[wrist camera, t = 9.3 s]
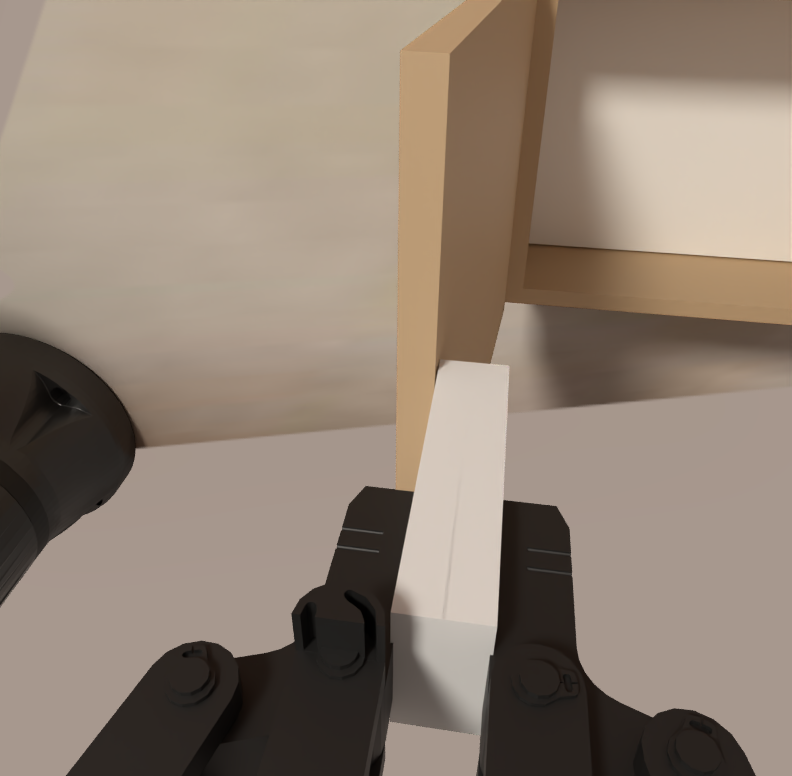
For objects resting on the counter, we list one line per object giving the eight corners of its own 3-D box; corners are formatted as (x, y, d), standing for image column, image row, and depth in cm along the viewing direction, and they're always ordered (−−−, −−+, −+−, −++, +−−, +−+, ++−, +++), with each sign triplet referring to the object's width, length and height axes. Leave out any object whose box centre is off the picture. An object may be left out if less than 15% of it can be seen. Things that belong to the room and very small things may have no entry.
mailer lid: (503, 309, 35) (485, 307, 35) (541, -40, 26) (517, -41, 26) (422, 633, 20) (390, 626, 20) (449, 53, 11) (394, 50, 11)
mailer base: (508, 251, 39) (504, 302, 35) (539, -44, 31) (540, -31, 27) (854, 276, 37) (902, 333, 32) (983, -34, 29) (1072, -19, 24)
